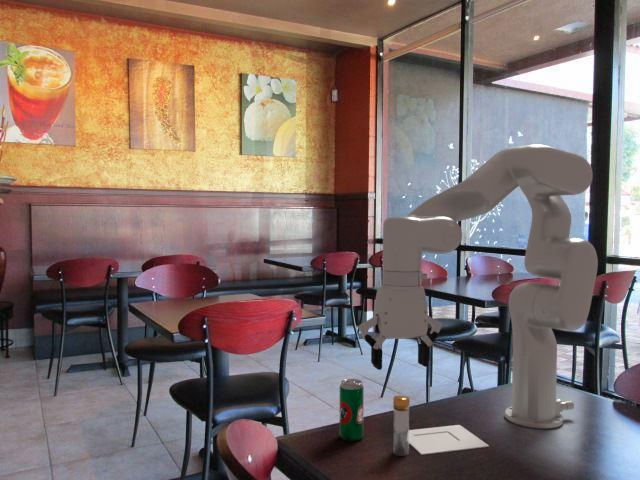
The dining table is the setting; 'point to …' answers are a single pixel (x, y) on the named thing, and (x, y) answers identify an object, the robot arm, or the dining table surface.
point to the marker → (401, 425)
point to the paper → (443, 439)
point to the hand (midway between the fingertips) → (400, 366)
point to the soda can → (351, 409)
